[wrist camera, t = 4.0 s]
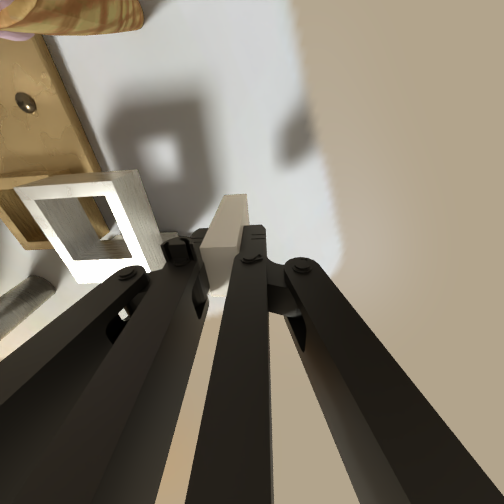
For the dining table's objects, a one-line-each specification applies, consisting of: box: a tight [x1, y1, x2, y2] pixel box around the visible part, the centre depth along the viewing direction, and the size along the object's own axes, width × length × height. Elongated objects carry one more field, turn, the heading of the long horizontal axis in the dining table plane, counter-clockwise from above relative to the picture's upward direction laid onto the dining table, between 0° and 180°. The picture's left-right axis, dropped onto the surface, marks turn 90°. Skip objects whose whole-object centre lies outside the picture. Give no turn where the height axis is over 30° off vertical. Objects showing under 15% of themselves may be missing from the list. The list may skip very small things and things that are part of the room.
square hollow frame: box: [13, 169, 210, 295], centre depth 19 cm, size 10×14×6 cm
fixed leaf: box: [0, 34, 110, 250], centre depth 16 cm, size 10×14×3 cm
